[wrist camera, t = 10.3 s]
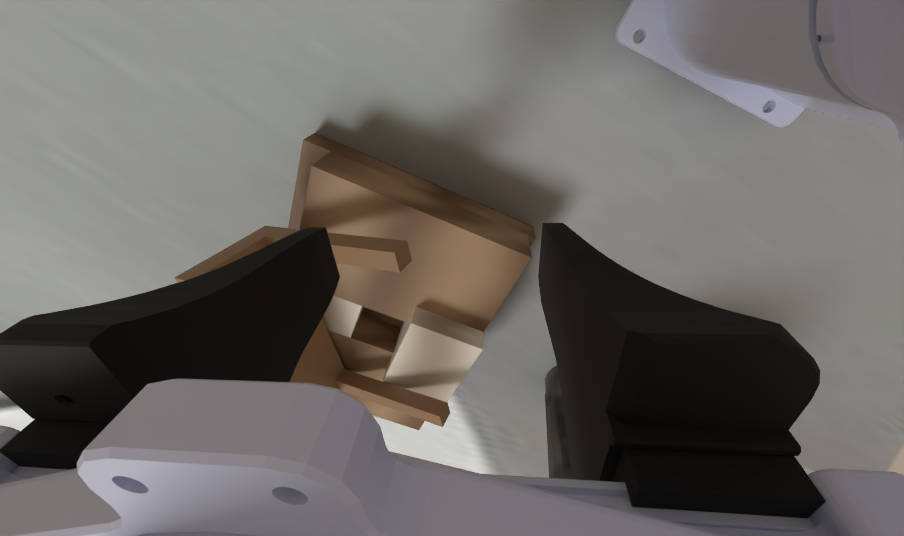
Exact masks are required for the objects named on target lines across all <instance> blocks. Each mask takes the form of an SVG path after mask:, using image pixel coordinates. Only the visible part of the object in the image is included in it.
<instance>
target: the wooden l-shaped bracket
mask: <svg viewBox="0 0 904 536" xmlns="http://www.w3.org/2000/svg"><path fill="white" fill-rule="evenodd" d="M297 231H300V230H299V229H290V228H280V227H271V226H264V227H263V228H261V229H259V230H257V231H256V232H254V233H252V234H250V235H249V236H247V237H245V238H243V239H242V240H240V241H238V242H236V243H235V244H233V245H231V246H229V247H228V248H226V249H224V250H222V251H221V252H219V253H217V254H215V255H214V256H212V257H210V258H208V259H207V260H205V261H203V262H201V263H200V264H198V265H196V266H194V267H193V268H191V269H189V270H187V271H186V272H184V273H182V274H180V275H179V276H177V277H175V279H176V281H177V282H178V283H179V282H182V281H185V280H188V279H191V278H194V277H197V276H199V275H202V274H205V273H208V272H210V271H213V270H215V269H218V268H220V267H223V266H225V265H227V264H229V263H232V262H234V261H236V260H238V259H240V258H243V257H245V256H247V255H249V254H251V253H253V252H256V251H258V250H260V249H262V248H264V247H266V246H268V245H270V244H272V243H274V242H276V241H278V240H280V239H282V238H284V237H286V236H288V235H291V234H293V233H295V232H297ZM327 233H328V232H327ZM328 237H329V240H330V244H331V247H332V251H333V254H334V258H335V261H336V263H339V264H346V265H352V266H359V267H365V268H372V269H379V270H385V271H392V272H398V273H400V272H401V271H402V270H403V269H404V268H405V267H406V266H407V265H408V264H409V263H410V262H411V261H412V258H411V254H410V250H409V246H408V242H407V241H404V240H395V239H385V238H376V237H366V236H357V235H347V234H337V233H328ZM290 382H300V383H312V384H317V385H322V386H327V387H332V388H337V389H339V390H341V391H343V392H346V393H349V394H352V395H354V396H357V397H360V398H363V399H366V400H368V401H371V402H374V403H377V404H380V405H382V406H385V407H388V408H391V409H394V410H397V411H399V412H402V413H405V414H408V415H411V416H413V417H416V418H419V419H422V420H425V421H427V422H430V423H433V424H436V425H439V426H441V427H443V425H444V423H445V422H446V420H447V418H448V416H449V414H450V411H449V407H448V403H447V402H445V401H441V400H438V399H435V398H432V397H429V396H426V395H423V394H420V393H417V392H413V391H410V390H407V389H404V388H401V387H398V386H395V385H392V384H388V383H385V382H382V381H379V380H376V379H373V378H370V377H367V376H364V375H360V374H357V373H354V372H351V371H348V370H345V369H344V366H343V364H342V362H341V360H340V358H339V355H338V353H337V351H336V349H335V347H334V344H333V342H332V340H331V338H330V336H329V333H328V331H327V329H326V327H325V325H324V322H323V320H322V319H321V321H320V323H319V325H318V326H317V328H316V330H315V332H314V333H313V335H312V337H311V339H310V340H309V342H308V344H307V346H306V348H305V349H304V351H303V353H302V355H301V357H300V359H299V361H298V363H297V366H296V368H295V370H294V373H293V375H292V378H291V380H290Z"/></svg>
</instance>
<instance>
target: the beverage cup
mask: <svg viewBox="0 0 904 536" xmlns="http://www.w3.org/2000/svg"><path fill="white" fill-rule="evenodd" d="M545 385H546V394H545V403H546V423H547V442H548V462H549V478H558V479H572V476H571V466H570V457H569V449H568V440H567V431H566V423H565V416H564V408H563V400H562V393H561V386H560V379H559V372H558V366H556V367H554V368H553V369H552V370H550V371H549V372H548V374H547V376H546V378H545Z"/></svg>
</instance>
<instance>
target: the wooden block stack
mask: <svg viewBox="0 0 904 536" xmlns="http://www.w3.org/2000/svg"><path fill="white" fill-rule="evenodd" d="M309 227H326V230H327V232H328V233H337V234H347V235H357V236H366V237H376V238H385V239H395V240H404V241H407V242H408V246H409V250H410V254H411V258H412V261H411V262H410V263H409V264H408V265H407V266H406V267H405V268H404V269H403V270H402V271H401V272H400V273H398V272H392V271H385V270H379V269H372V268H365V267H359V266H352V265H346V264H339V263H336V265H337V268H338V272H339V275H340V279H339V282H338V285H337V288H336V290H335V293H334V296H333V298H332V301H331V303H330V305H329V306H328V308H327V310H326V312H325V314H324V316H323V317H322V320H323V322H324V325H325V327H326V329H327V331H328V333H329V336H330V338H331V340H332V342H333V344H334V347H335V349H336V351H337V353H338V355H339V358H340V360H341V362H342V364H343V366H344V369H345V370H348V371H351V372H354V373H357V374H360V375H364V376H367V377H370V378H373V379H376V380H379V381H382V382H385V383H388V384H392V385H395V386H398V387H401V388H404V389H407V390H410V391H413V392H417V393H420V394H423V395H426V396H429V397H432V398H435V399H438V400H441V401H445V402H447V401H448V400H449V398H450V397H451V395H452V394H453V393H454V391H455V390H456V388H457V387H458V385H459V384H460V382H461V381H462V379H463V378H464V376H465V375H466V373H467V372H468V371H469V369H470V368H471V366H472V365H473V363H474V362H475V360H476V359H477V357H478V356H479V354H480V353H481V351H482V350H483V331H484V330H485V328H486V327H487V325H488V324H489V322H490V321H491V319H492V318H493V316H494V315H495V313H496V312H497V310H498V308H499V307H500V305H501V304H502V302H503V301H504V299H505V298H506V296H507V295H508V293H509V292H510V290H511V289H512V287H513V286H514V284H515V283H516V281H517V279H518V278H519V276H520V275H521V273H522V272H523V270H524V269H525V267H526V266H527V264H528V263H529V261H530V260H531V258H532V256H531V251H530V246H531V244H532V243H533V241H534V240H535V235H534V230H533V227H532V226H529V225H527V224H525V223H522V222H520V221H518V220H515V219H513V218H511V217H508V216H506V215H504V214H502V213H499V212H497V211H495V210H492V209H490V208H488V207H485V206H483V205H481V204H478V203H476V202H474V201H471V200H469V199H467V198H464V197H462V196H460V195H457V194H455V193H453V192H450V191H448V190H446V189H443V188H441V187H439V186H437V185H434V184H432V183H430V182H427V181H425V180H423V179H420V178H418V177H416V176H413V175H411V174H409V173H406V172H404V171H402V170H399V169H397V168H395V167H392V166H390V165H388V164H385V163H383V162H381V161H379V160H376V159H374V158H372V157H369V156H367V155H365V154H362V153H360V152H358V151H355V150H353V149H351V148H348V147H346V146H344V145H341V144H339V143H337V142H334V141H332V140H330V139H327V138H325V137H323V136H320V135H318V134H316V133H314V134H312V135H311V136H309V137H307V138H306V139H304V140H303V145H302V151H301V157H300V163H299V168H298V174H297V180H296V186H295V192H294V197H293V203H292V209H291V215H290V221H289V226H288V228H290V229H299V230H303V229H306V228H309ZM345 393H346V392H345ZM346 394H348V395H350V396H352V397H353V398H355V399H357V400H359V401H360V402H362V403H363V404H364V405H365V406H366V408H367V409H368V410H369V412H370V413H371V414H372V415H373V416H377V417H380V418H383V419H386V420H389V421H392V422H395V423H398V424H401V425H404V426H408V427H411V428H414V429H417V430H419V429H420V427H421V426H422V424H423V423H424V421H425V420H422V419H419V418H416V417H413V416H411V415H408V414H405V413H402V412H399V411H397V410H394V409H391V408H388V407H385V406H382V405H380V404H377V403H374V402H371V401H368V400H366V399H363V398H360V397H357V396H354V395H352V394H349V393H346Z"/></svg>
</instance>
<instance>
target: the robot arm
mask: <svg viewBox="0 0 904 536" xmlns="http://www.w3.org/2000/svg"><path fill="white" fill-rule="evenodd" d="M639 29H641V30H642V32H643V37H642V39H641V40H640V41H639V42H638V43H635V42H634V41H633V36H634V33H635V32H636V31H637V30H639ZM615 37H616V40H617V41H618V42H619V43H620V44H622V45H624V46H626V47H627V48H629V49H631V50H633V51H635V52H637V53H639V54H641V55H642V56H644V57H646V58H648V59H650V60H652V61H654V62H656V63H657V64H659V65H661V66H663V67H665V68H667V69H669V70H670V71H672V72H674V73H676V74H678V75H680V76H682V77H684V78H685V79H687V80H689V81H691V82H693V83H695V84H697V85H699V86H700V87H702V88H704V89H706V90H708V91H710V92H712V93H713V94H715V95H717V96H719V97H721V98H723V99H725V100H727V101H728V102H730V103H732V104H734V105H736V106H738V107H740V108H741V109H743V110H745V111H747V112H749V113H751V114H753V115H755V116H756V117H758V118H760V119H762V120H764V121H766V122H768V123H770V124H771V125H774V126H777V127H785V126H787V125H789V124H791V123H792V122H793V121H794V120H795V119H796V118H797V117H798V116H799V115H800V114H801V113H802V112H803V111H804V109H805V108H807V109H811V110H815V111H819V112H823V113H827V114H831V115H835V116H838V117H842V118H846V119H850V120H854V121H858V122H862V123H866V124H870V125H874V126H878V127H882V128H886V129H890V130H894V131H898V136H899V140H900V142H903V143H904V0H631V2H630V4H629V6H628V7H627V9H626V11H625V13H624V14H623V16H622V18H621V20H620V22H619V23H618V25H617V27H616V30H615ZM768 101H770V106H769V108H767V109H766V110H765V111H763V106H764V104H766V103H767V102H768ZM538 277H539V287H540V296H541V303H542V307H543V311H544V315H545V318H546V322H547V326H548V330H549V334H550V338H551V341H552V345H553V349H554V353H555V357H556V361H557V366H558V372H559V379H560V386H561V393H562V400H563V408H564V416H565V423H566V431H567V440H568V449H569V457H570V466H571V476H572V479H558V478H541V477H524V476H507V475H490V474H479V473H475V472H471V471H467V470H463V469H459V468H455V467H451V466H447V465H443V464H439V463H434V462H430V461H426V460H422V459H418V458H414V457H410V456H406V455H402V454H398V453H394V452H389V451H388V449H387V448H386V445H385V442H384V438H383V435H382V431H381V428H380V426H379V424H378V423H377V421H376V420H375V419H374V417H373V416H372V414H371V413H370V412H369V410H368V409H367V408H366V406H365V405H364V404H363V403H362V402H360V401H359V400H357V399H355V398H353V397H352V396H350V395H348V394H346V393H345V392H343V391H341V390H339V389H337V388H332V387H327V386H322V385H317V384H312V383H300V382H290V380H291V378H292V375H293V373H294V370H295V368H296V366H297V363H298V361H299V359H300V357H301V355H302V353H303V351H304V349H305V348H306V346H307V344H308V342H309V340H310V339H311V337H312V335H313V333H314V332H315V330H316V328H317V326H318V325H319V323H320V321H321V319H322V317H323V316H324V314H325V312H326V310H327V308H328V306H329V305H330V303H331V301H332V298H333V296H334V293H335V290H336V288H337V285H338V282H339V279H340V275H339V272H338V268H337V265H336V261H335V258H334V254H333V251H332V247H331V244H330V240H329V237H328V233H327V230H326V227H309V228H306V229H303V230H300V231H297V232H295V233H293V234H291V235H288V236H286V237H284V238H282V239H280V240H278V241H276V242H274V243H272V244H270V245H268V246H266V247H264V248H262V249H260V250H258V251H256V252H253V253H251V254H249V255H247V256H245V257H243V258H240V259H238V260H236V261H234V262H232V263H229V264H227V265H225V266H223V267H220V268H218V269H215V270H213V271H210V272H208V273H205V274H202V275H199V276H197V277H194V278H191V279H188V280H185V281H182V282H179V283H176V284H172V285H169V286H166V287H163V288H159V289H156V290H153V291H150V292H146V293H142V294H138V295H134V296H130V297H126V298H122V299H118V300H114V301H109V302H105V303H100V304H95V305H91V306H85V307H80V308H74V309H69V310H63V311H58V312H53V313H47V314H41V315H35V316H31V317H29V318H26V319H23V320H21V321H20V322H18V323H16V324H15V325H13V326H12V327H10V328H8V329H7V330H5V331H4V332H2V333H0V390H1V391H2V392H3V393H4V394H5V395H6V396H8V397H9V398H10V399H11V400H12V401H13V402H14V403H16V404H17V405H18V406H19V407H20V408H21V409H23V410H24V411H25V412H26V413H27V414H28V415H30V416H31V417H32V418H33V419H35V420H34V421H32V422H31V423H30V424H29V425H28V426H27V427H25V428H24V429H23V430H22V431H21V432H20V431H19V430H16V429H14V428H11V427H6V426H0V536H904V476H903V475H902V474H898V473H895V472H884V471H864V470H845V469H825V470H819V471H816V472H812V473H810V474H809V475H807V474H806V472H805V471H804V469H803V468H802V467H801V465H800V464H799V462H798V461H797V459H796V458H795V457H794V456H798V455H799V454H800V453H801V447H800V445H799V444H798V442H797V441H796V440H795V438H794V437H793V436H792V434H791V433H790V432H789V429H790V427H791V426H792V425H793V423H794V422H795V421H796V419H797V418H798V417H799V415H800V414H801V413H802V411H803V410H804V409H805V407H806V406H807V405H808V403H809V402H810V401H811V399H812V398H813V396H814V394H815V392H816V390H817V388H818V386H819V384H820V369H819V367H818V365H817V363H816V362H815V360H814V358H813V357H812V356H811V355H810V354H809V353H808V352H807V351H806V350H805V349H804V348H803V347H802V346H801V345H800V344H799V343H798V342H797V341H796V340H795V339H794V338H793V337H792V336H791V334H790V333H789V332H788V331H787V330H786V329H785V328H784V327H783V326H782V325H781V324H778V323H774V322H770V321H766V320H763V319H759V318H755V317H751V316H747V315H743V314H739V313H735V312H731V311H728V310H724V309H721V308H718V307H715V306H712V305H709V304H706V303H703V302H700V301H697V300H694V299H691V298H688V297H686V296H683V295H680V294H678V293H675V292H673V291H671V290H668V289H666V288H664V287H661V286H659V285H657V284H654V283H652V282H650V281H648V280H646V279H644V278H642V277H640V276H638V275H636V274H635V273H633V272H631V271H629V270H627V269H625V268H624V267H622V266H620V265H619V264H617V263H616V262H614V261H613V260H611V259H610V258H608V257H606V256H605V255H604V254H602V253H601V252H599V251H598V250H597V249H595V248H594V247H593V246H591V245H590V244H589V243H587V242H586V241H585V240H583V239H582V238H581V237H580V236H579V235H577V234H576V233H575V232H574V231H572V230H571V229H570V228H569V227H567V226H566V225H565V224H563V223H543V226H542V238H541V251H540V263H539V276H538Z"/></svg>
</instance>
